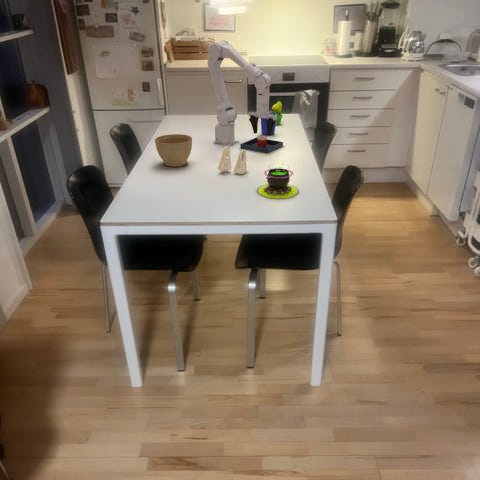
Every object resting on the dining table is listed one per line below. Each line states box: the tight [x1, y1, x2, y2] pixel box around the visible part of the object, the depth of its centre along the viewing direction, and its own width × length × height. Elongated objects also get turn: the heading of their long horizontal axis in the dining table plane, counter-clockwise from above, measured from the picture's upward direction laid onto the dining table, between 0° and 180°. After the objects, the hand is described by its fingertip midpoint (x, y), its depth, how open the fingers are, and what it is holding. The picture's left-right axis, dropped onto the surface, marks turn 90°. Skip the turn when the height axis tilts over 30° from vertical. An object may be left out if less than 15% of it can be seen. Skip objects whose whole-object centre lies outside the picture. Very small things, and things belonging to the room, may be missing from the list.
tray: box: [239, 136, 284, 154], centre depth 230 cm, size 15×14×2 cm
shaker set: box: [217, 145, 248, 175], centre depth 198 cm, size 12×4×11 cm, turn 81°
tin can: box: [256, 134, 268, 148], centre depth 229 cm, size 5×5×5 cm
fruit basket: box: [269, 100, 283, 126], centre depth 267 cm, size 11×9×11 cm
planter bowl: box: [154, 133, 193, 168], centre depth 208 cm, size 16×16×11 cm
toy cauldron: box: [258, 162, 298, 200], centre depth 180 cm, size 15×15×11 cm
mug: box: [260, 113, 277, 137], centre depth 249 cm, size 8×12×10 cm
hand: (262, 134), depth 227 cm, fingers open, 7 cm apart
